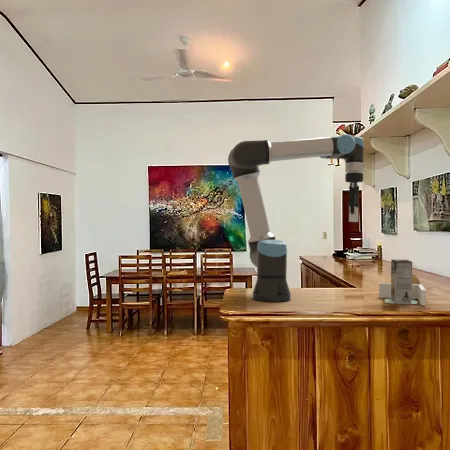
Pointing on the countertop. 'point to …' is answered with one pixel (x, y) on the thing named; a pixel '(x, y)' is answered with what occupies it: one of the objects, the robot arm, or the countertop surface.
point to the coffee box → (401, 281)
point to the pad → (398, 303)
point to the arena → (417, 292)
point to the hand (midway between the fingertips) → (353, 221)
